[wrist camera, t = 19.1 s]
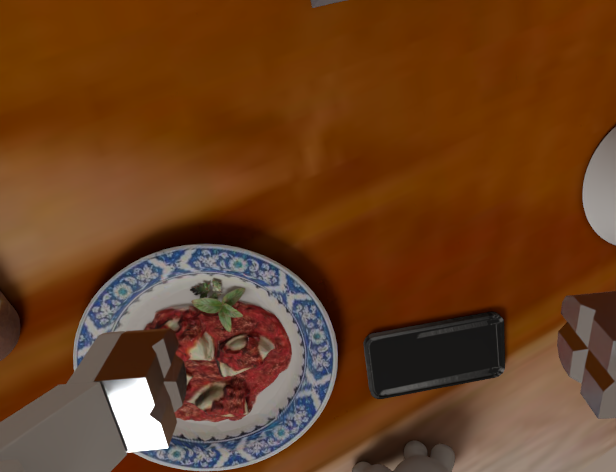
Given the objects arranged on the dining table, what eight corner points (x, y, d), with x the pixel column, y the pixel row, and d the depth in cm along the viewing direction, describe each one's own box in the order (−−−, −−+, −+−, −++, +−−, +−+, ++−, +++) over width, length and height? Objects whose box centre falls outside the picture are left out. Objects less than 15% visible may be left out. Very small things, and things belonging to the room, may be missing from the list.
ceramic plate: (271, 483, 56) (272, 505, 53) (46, 412, 50) (33, 432, 48) (377, 297, 50) (385, 310, 47) (135, 193, 44) (127, 201, 42)
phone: (505, 375, 53) (371, 401, 53) (500, 369, 55) (369, 394, 54) (503, 312, 51) (363, 338, 50) (498, 307, 52) (361, 332, 51)
